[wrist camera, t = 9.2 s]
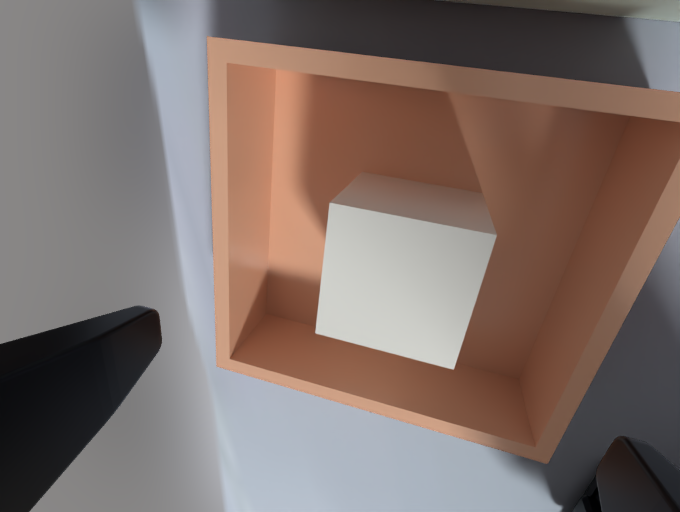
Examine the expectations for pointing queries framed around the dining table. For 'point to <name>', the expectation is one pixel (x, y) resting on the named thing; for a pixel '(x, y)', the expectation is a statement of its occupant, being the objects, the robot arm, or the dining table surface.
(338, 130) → the terracotta bin
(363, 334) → the grey block
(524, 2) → the pale green tray
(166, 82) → the dining table surface
